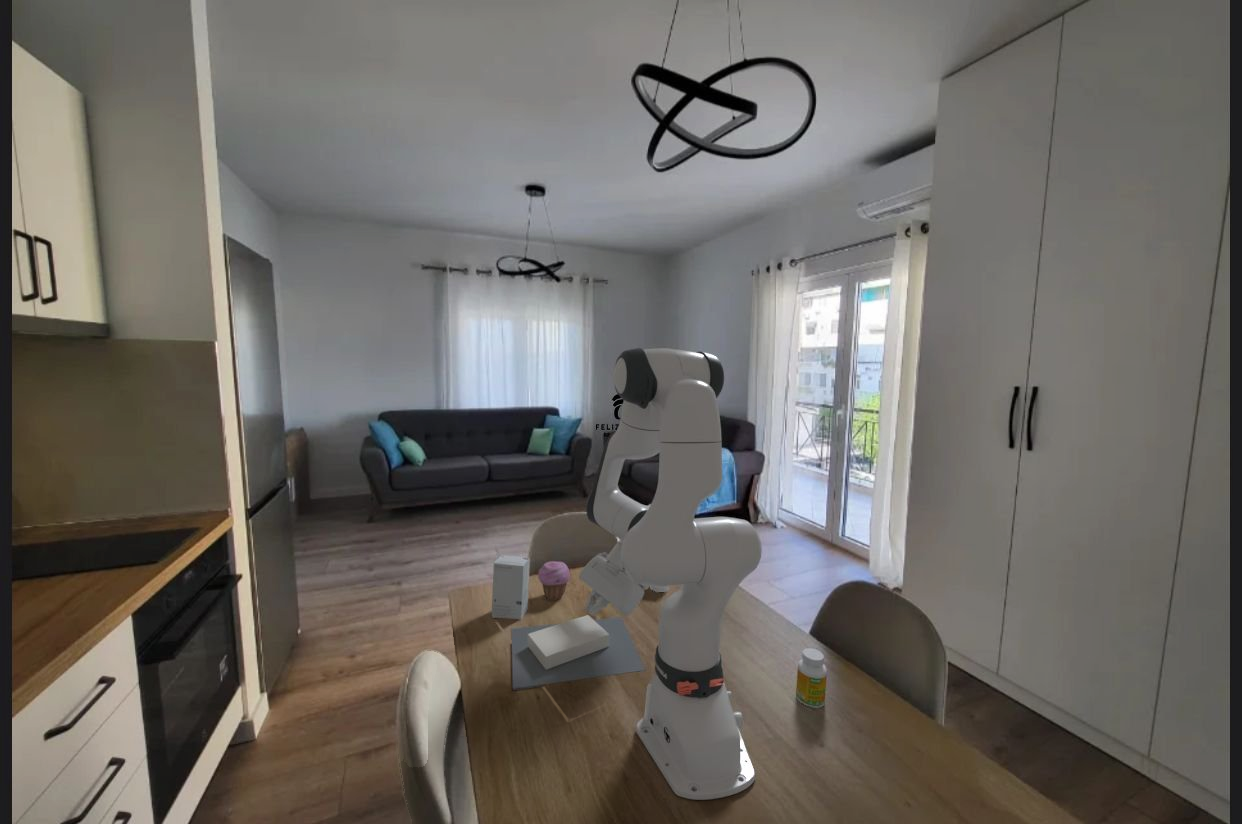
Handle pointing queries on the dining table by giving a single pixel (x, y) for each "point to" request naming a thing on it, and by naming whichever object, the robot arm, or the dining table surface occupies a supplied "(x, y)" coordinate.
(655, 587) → the grey white cylinder
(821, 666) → the supplement bottle
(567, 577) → the cupcake
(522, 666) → the slate mat
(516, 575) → the skincare box
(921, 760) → the dining table surface
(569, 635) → the plain white box
